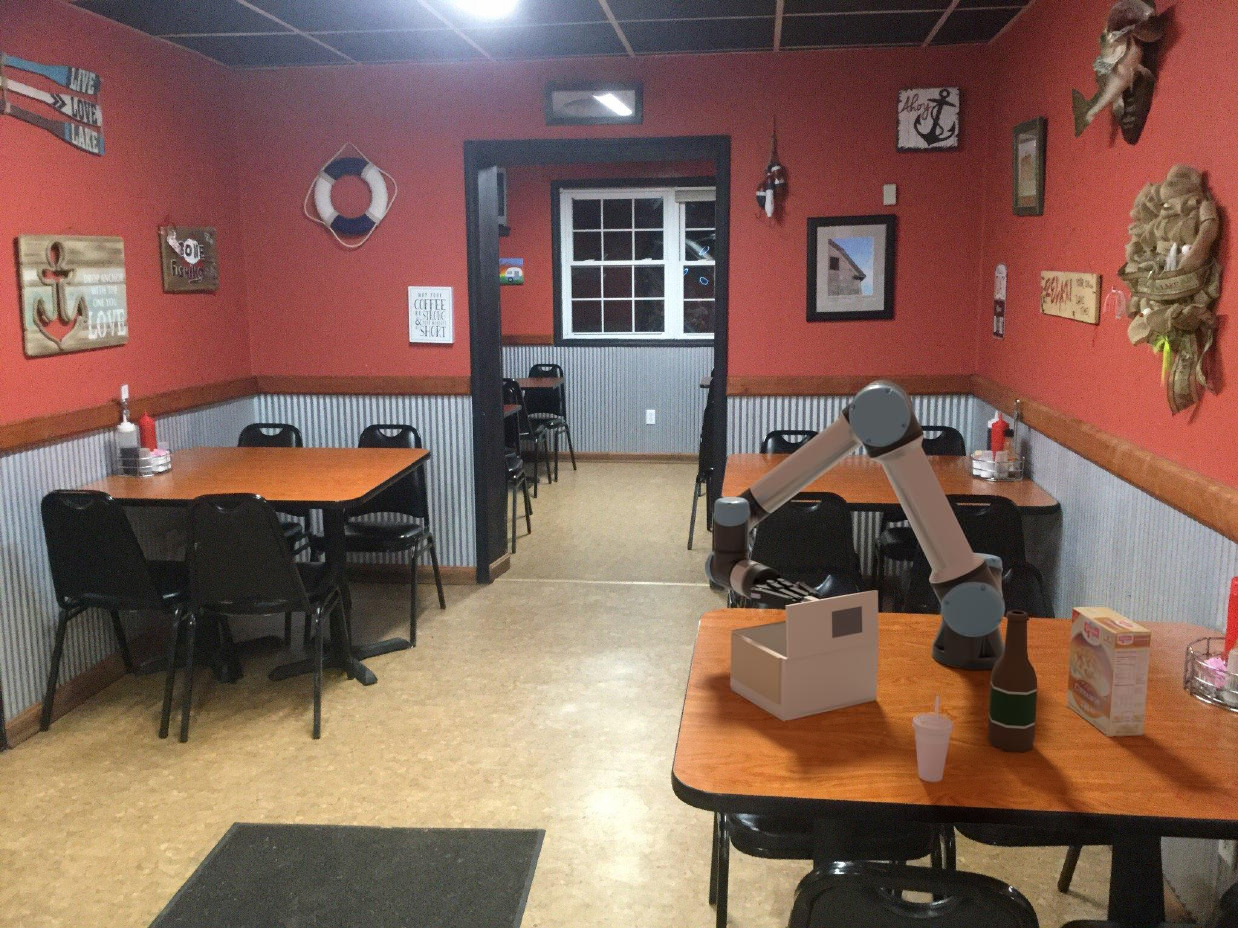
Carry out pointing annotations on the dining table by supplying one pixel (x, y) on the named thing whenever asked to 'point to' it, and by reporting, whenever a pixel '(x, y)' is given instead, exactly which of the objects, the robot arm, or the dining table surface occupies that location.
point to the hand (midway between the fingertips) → (827, 612)
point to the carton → (799, 674)
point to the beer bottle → (1013, 691)
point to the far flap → (831, 624)
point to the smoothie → (932, 743)
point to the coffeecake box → (1108, 670)
